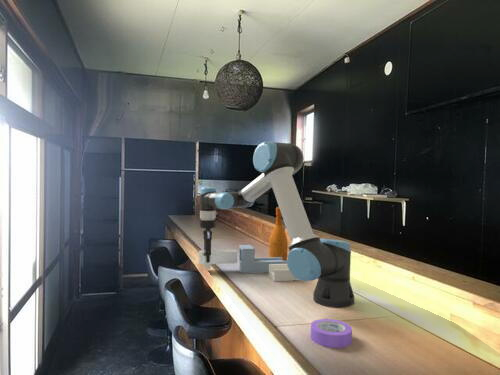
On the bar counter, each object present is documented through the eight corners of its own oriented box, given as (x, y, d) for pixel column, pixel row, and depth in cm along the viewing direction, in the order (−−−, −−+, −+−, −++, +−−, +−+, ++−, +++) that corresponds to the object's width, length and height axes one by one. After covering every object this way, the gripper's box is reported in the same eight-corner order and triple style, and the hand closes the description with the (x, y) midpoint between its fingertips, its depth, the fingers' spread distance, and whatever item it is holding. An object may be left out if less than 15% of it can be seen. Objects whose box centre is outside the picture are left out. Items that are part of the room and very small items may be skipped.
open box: (286, 271, 183) (287, 248, 182) (242, 273, 179) (242, 249, 178) (281, 266, 193) (281, 244, 192) (238, 267, 188) (239, 245, 188)
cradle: (298, 280, 168) (298, 269, 167) (274, 281, 166) (274, 270, 165) (291, 274, 178) (291, 263, 178) (268, 274, 176) (268, 264, 176)
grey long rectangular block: (235, 260, 186) (235, 249, 186) (237, 263, 180) (237, 251, 180) (198, 261, 182) (199, 250, 182) (199, 264, 177) (199, 252, 177)
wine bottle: (286, 264, 197) (287, 207, 196) (267, 263, 199) (268, 207, 198) (288, 260, 206) (289, 206, 205) (270, 259, 208) (271, 205, 207)
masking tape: (345, 330, 115) (345, 318, 114) (357, 348, 103) (357, 335, 103) (307, 330, 114) (307, 318, 114) (314, 348, 103) (315, 334, 102)
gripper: (217, 221, 171) (216, 271, 172) (213, 217, 190) (213, 262, 190) (200, 221, 170) (200, 272, 171) (199, 217, 188) (198, 262, 189)
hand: (207, 267), depth 181 cm, fingers closed on grey long rectangular block, 5 cm apart
